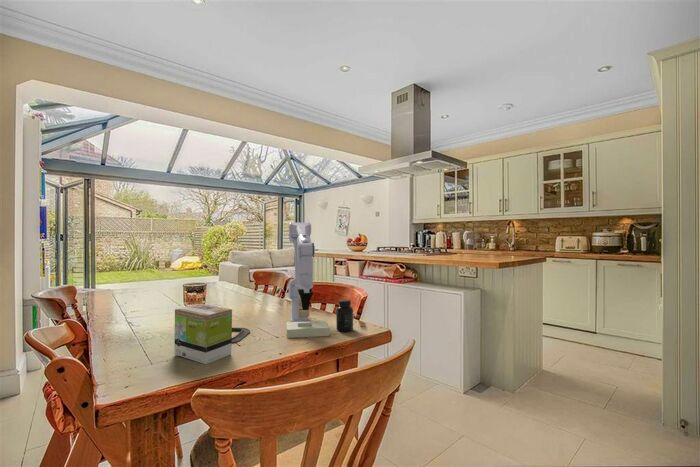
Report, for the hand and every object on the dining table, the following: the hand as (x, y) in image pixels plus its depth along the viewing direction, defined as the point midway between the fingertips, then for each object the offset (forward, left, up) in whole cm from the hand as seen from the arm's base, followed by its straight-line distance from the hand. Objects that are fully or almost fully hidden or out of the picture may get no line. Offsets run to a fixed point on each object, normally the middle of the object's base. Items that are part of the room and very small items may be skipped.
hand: (305, 308), depth 129 cm
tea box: (+19, -33, -10) cm, 39 cm away
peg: (0, 0, -3) cm, 3 cm away
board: (0, +1, -9) cm, 9 cm away
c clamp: (0, -30, -10) cm, 32 cm away
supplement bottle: (-1, +16, -10) cm, 19 cm away
